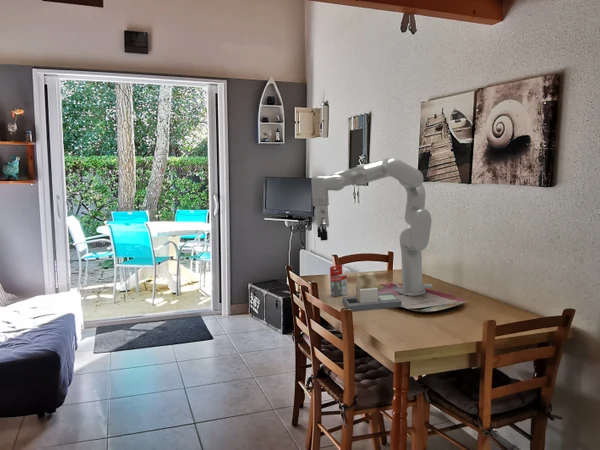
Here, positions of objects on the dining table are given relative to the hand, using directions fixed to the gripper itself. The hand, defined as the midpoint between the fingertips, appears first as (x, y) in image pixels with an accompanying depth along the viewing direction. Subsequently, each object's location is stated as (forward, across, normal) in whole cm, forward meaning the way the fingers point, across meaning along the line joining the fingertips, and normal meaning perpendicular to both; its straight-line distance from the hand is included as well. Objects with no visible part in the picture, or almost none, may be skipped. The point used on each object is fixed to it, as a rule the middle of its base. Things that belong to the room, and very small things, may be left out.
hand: (322, 238), depth 224 cm
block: (+28, -12, -17) cm, 35 cm away
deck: (+30, -12, -19) cm, 38 cm away
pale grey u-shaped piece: (+28, -12, -17) cm, 35 cm away
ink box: (+31, +8, -8) cm, 33 cm away
